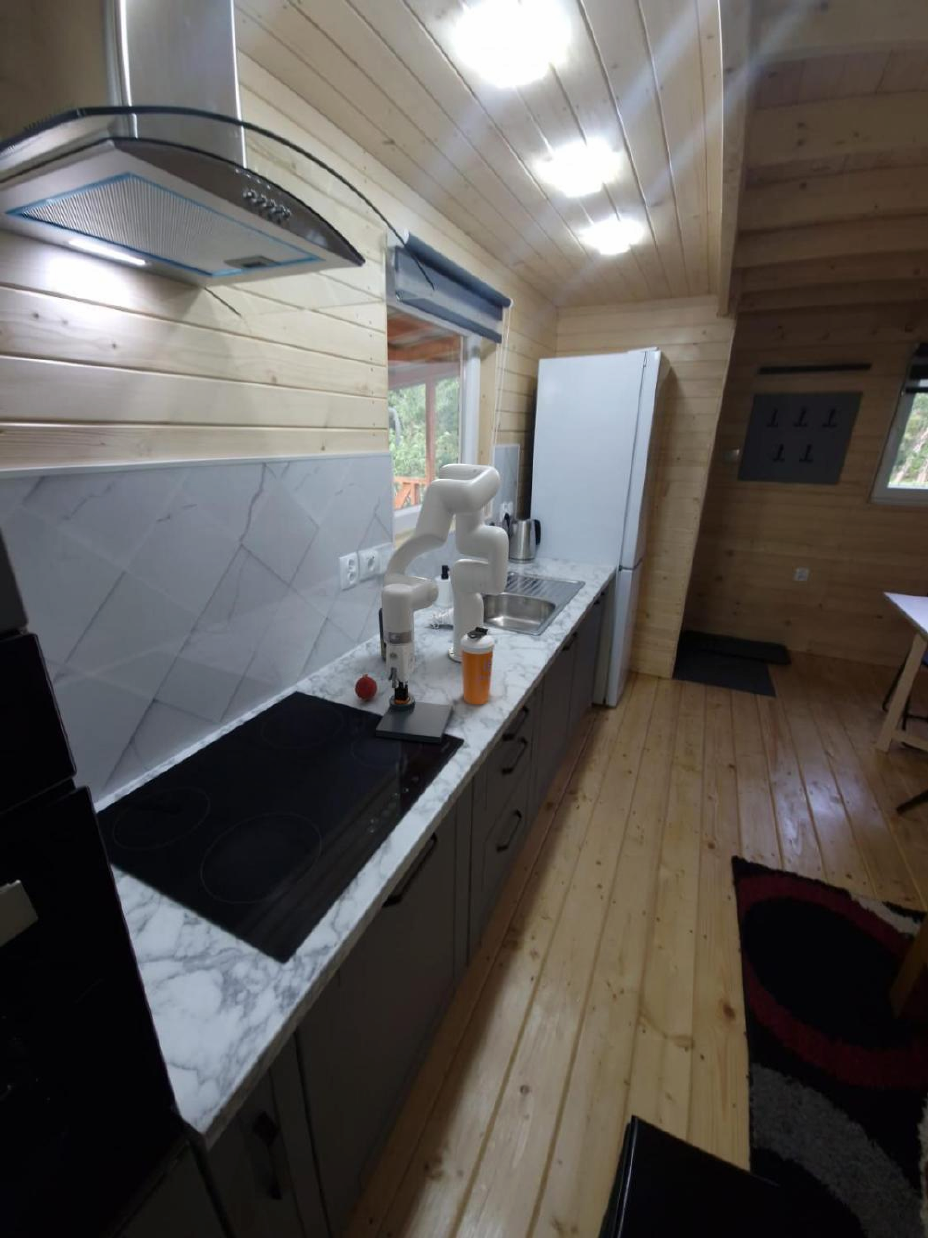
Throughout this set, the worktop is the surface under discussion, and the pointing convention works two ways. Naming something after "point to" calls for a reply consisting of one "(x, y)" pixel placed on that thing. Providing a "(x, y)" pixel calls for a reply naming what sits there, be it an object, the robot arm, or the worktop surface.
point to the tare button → (402, 701)
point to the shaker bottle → (477, 665)
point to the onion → (365, 687)
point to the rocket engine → (442, 618)
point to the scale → (415, 721)
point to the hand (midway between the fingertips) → (401, 698)
